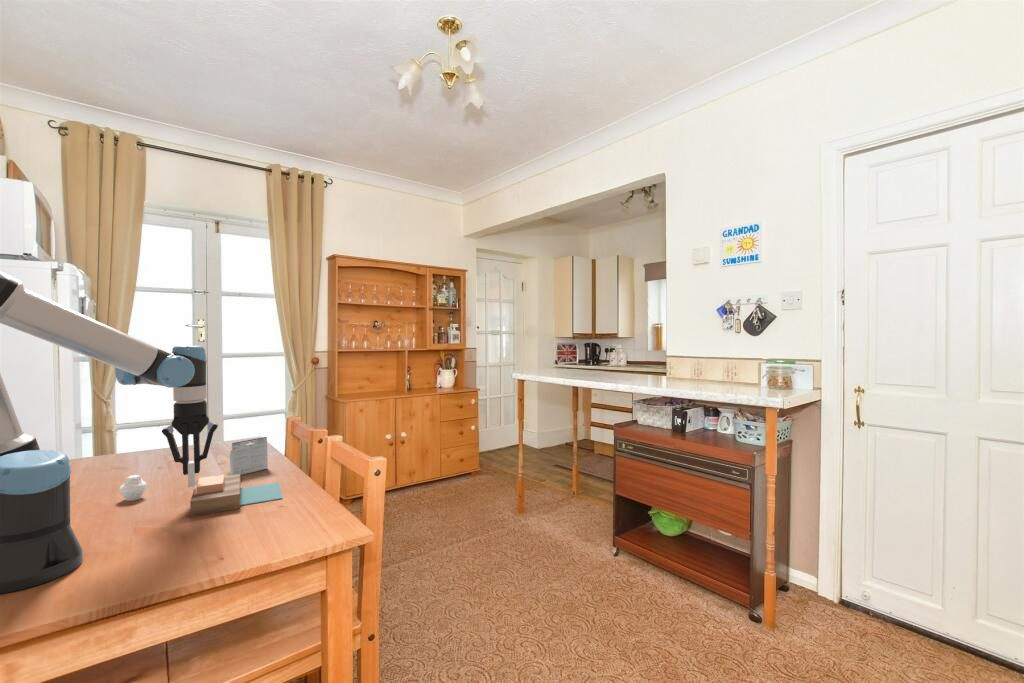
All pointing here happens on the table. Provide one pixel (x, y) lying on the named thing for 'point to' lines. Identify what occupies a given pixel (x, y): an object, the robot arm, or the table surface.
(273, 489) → the mat
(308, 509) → the table surface
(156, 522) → the table surface
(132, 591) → the table surface
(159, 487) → the table surface
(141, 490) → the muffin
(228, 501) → the brown wooden slab
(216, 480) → the block
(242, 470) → the ink box
